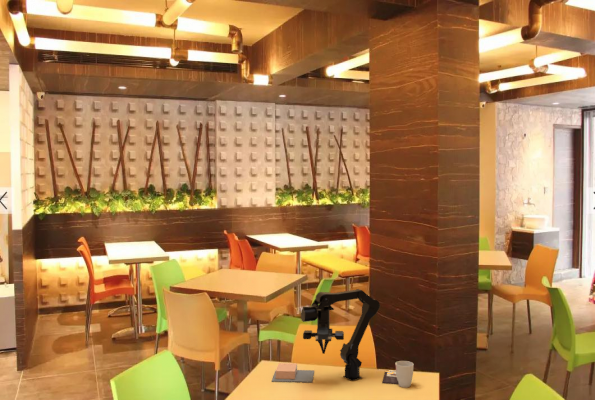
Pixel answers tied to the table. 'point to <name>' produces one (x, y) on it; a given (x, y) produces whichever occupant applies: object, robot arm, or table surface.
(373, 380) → the table surface
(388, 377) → the chocolate bar
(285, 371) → the salmon pink block
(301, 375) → the mat
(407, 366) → the cup
